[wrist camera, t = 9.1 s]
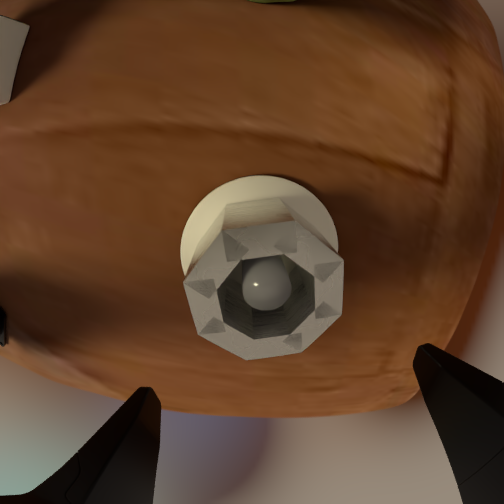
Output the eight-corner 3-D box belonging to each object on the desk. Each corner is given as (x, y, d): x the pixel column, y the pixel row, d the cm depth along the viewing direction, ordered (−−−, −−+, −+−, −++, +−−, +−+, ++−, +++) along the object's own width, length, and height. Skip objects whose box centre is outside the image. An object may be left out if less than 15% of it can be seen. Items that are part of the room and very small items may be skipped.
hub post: (270, 338, 20) (277, 382, 16) (155, 268, 18) (133, 305, 13) (363, 239, 18) (395, 268, 13) (245, 141, 15) (248, 139, 11)
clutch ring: (317, 297, 18) (339, 344, 14) (213, 312, 18) (207, 363, 14) (313, 192, 16) (343, 214, 11) (191, 209, 16) (171, 237, 11)
